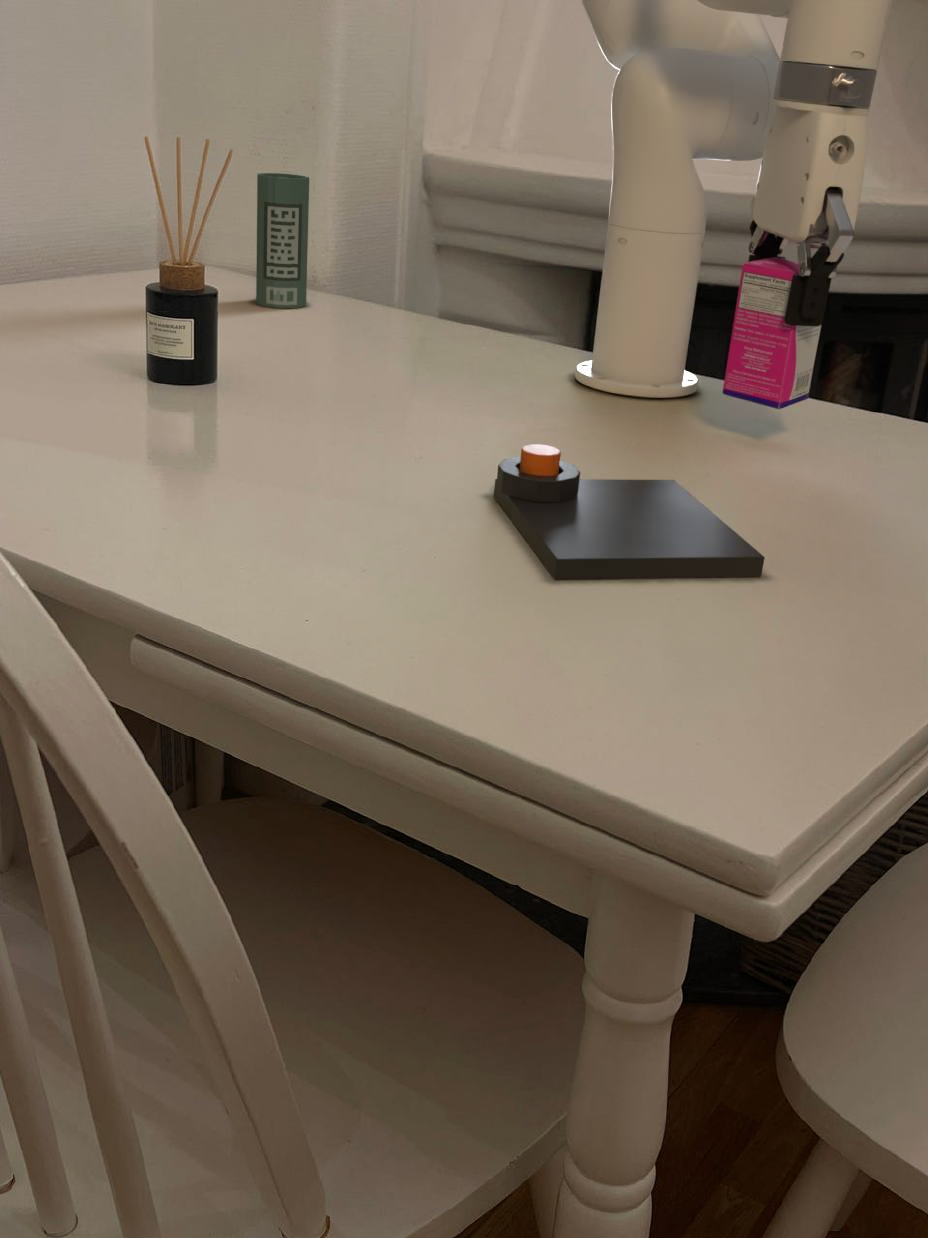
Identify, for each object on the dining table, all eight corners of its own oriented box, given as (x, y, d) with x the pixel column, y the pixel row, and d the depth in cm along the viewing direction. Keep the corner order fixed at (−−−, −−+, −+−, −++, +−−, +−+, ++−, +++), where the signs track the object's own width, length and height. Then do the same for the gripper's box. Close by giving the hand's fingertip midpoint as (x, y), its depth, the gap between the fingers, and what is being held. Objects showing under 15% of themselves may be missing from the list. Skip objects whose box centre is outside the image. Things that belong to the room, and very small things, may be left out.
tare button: (514, 467, 91) (517, 443, 90) (552, 467, 91) (554, 443, 91) (525, 479, 88) (527, 455, 88) (563, 479, 89) (565, 455, 88)
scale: (487, 495, 93) (491, 455, 92) (669, 495, 96) (675, 457, 95) (549, 580, 78) (554, 534, 77) (761, 577, 82) (769, 533, 80)
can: (304, 300, 159) (307, 175, 153) (306, 309, 154) (310, 179, 148) (256, 297, 158) (257, 171, 152) (256, 306, 153) (257, 176, 147)
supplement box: (749, 383, 114) (774, 254, 109) (809, 399, 111) (837, 267, 106) (718, 393, 110) (742, 259, 105) (779, 410, 107) (807, 273, 102)
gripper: (923, 103, 93) (870, 339, 101) (815, 87, 108) (776, 293, 116) (832, 95, 91) (784, 336, 99) (735, 79, 107) (700, 289, 114)
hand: (780, 312), depth 107 cm, fingers closed on supplement box, 7 cm apart
